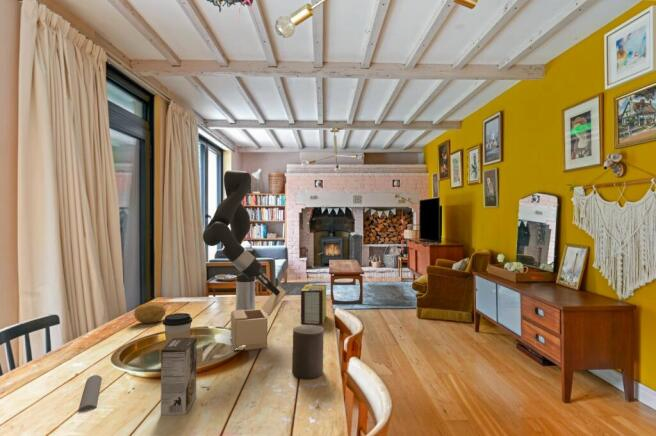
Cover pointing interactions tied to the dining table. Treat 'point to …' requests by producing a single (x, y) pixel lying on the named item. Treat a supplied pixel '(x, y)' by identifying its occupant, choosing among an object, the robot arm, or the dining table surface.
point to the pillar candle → (307, 351)
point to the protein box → (313, 304)
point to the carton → (249, 329)
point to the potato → (150, 312)
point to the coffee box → (178, 376)
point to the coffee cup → (177, 326)
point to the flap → (273, 301)
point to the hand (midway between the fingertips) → (277, 293)
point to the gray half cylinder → (90, 393)
